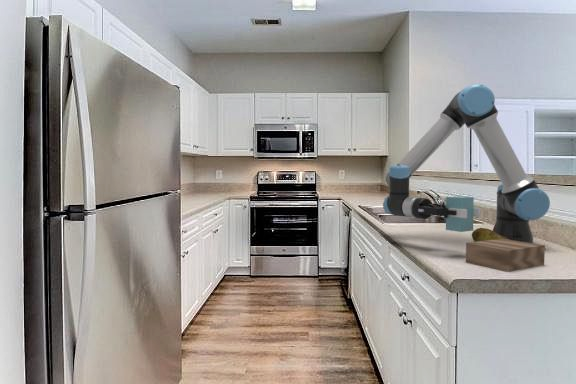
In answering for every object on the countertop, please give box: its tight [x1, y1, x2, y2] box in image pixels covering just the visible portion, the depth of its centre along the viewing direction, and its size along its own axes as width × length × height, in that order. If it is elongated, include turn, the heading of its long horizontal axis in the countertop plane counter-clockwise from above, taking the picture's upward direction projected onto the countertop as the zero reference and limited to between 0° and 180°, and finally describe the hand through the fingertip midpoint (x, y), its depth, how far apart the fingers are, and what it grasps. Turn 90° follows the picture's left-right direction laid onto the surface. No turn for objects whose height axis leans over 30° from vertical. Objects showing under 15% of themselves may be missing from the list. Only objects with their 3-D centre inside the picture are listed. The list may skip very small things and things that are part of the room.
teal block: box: [445, 195, 475, 233], centre depth 143 cm, size 6×6×11 cm
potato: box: [471, 227, 509, 242], centre depth 153 cm, size 8×13×8 cm, turn 52°
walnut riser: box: [465, 239, 546, 272], centre depth 133 cm, size 18×14×6 cm
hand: (473, 213), depth 138 cm, fingers closed on teal block, 6 cm apart
